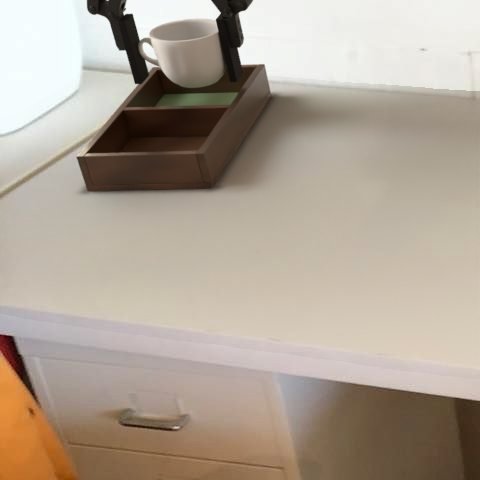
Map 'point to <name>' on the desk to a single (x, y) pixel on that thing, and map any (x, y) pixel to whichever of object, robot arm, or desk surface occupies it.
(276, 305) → the desk surface
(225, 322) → the desk surface
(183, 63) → the teacup
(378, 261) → the desk surface
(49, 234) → the desk surface
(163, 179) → the wooden compartment tray
